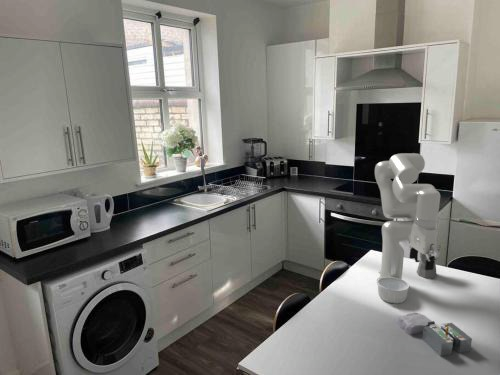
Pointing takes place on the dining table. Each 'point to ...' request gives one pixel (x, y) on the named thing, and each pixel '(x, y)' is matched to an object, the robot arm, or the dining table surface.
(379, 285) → the ramekin
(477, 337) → the dining table surface
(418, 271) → the coffeepot
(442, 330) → the bar with dark endcap
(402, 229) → the robot arm
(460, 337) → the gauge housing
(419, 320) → the stone block
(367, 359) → the dining table surface
